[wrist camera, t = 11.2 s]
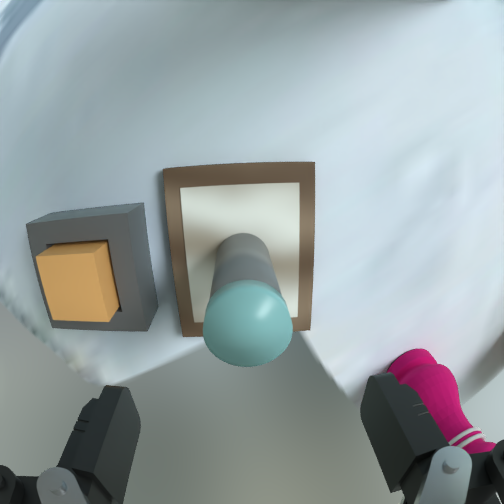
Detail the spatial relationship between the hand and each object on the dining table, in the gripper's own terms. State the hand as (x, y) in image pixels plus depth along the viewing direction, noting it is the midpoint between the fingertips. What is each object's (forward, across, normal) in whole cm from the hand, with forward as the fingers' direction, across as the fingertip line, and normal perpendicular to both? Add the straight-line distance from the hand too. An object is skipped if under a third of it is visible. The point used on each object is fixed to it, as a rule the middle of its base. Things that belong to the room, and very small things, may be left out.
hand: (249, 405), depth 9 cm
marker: (+15, 0, 0) cm, 15 cm away
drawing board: (+16, 0, 0) cm, 16 cm away
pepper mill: (+16, -18, +15) cm, 29 cm away
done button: (+14, +12, 0) cm, 18 cm away
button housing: (+16, +12, 0) cm, 20 cm away
